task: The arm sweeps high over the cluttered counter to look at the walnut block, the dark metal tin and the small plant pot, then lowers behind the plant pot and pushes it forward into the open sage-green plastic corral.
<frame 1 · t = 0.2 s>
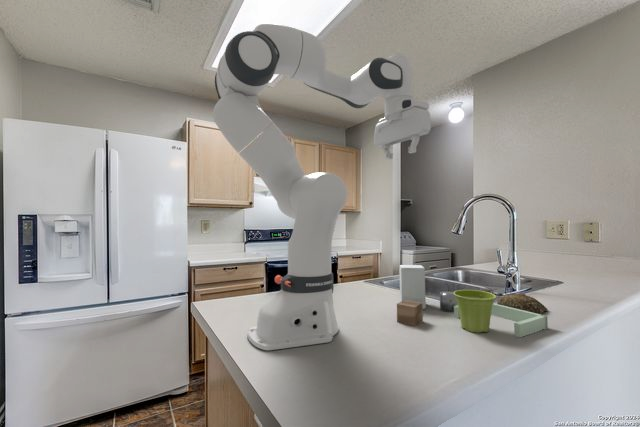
hand: (400, 156, 90), 47 cm above the counter, tool pointing down, fingers open, 8 cm apart
supplement box: (412, 306, 95), on the counter
bread roll: (521, 310, 91), on the counter
walnut block: (410, 322, 80), on the counter
corral: (496, 322, 78), on the counter
metal tin: (448, 309, 90), on the counter
plant pot: (475, 329, 74), on the counter
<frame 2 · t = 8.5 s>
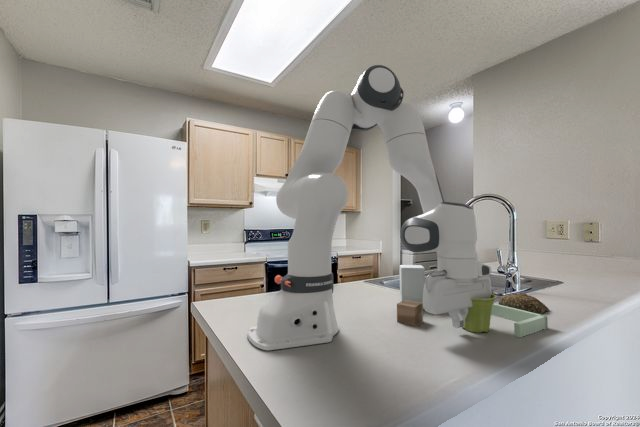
hand: (458, 326, 71), 2 cm above the counter, tool pointing down, fingers closed
plant pot: (475, 329, 74), on the counter, touching gripper
everything else where it was.
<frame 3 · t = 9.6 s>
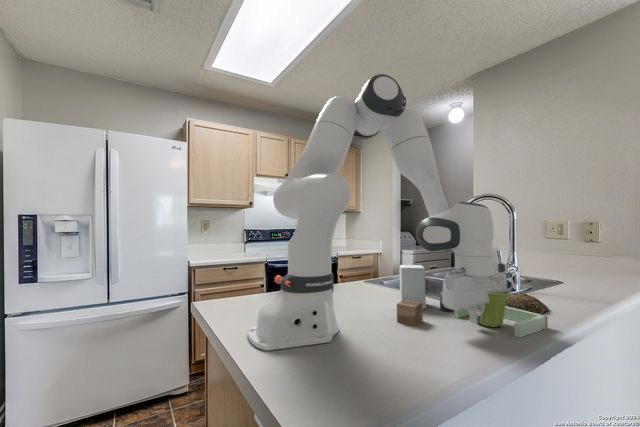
hand: (475, 322, 74), 2 cm above the counter, tool pointing down, fingers closed
plant pot: (488, 324, 77), on the counter, touching gripper
everything else where it was.
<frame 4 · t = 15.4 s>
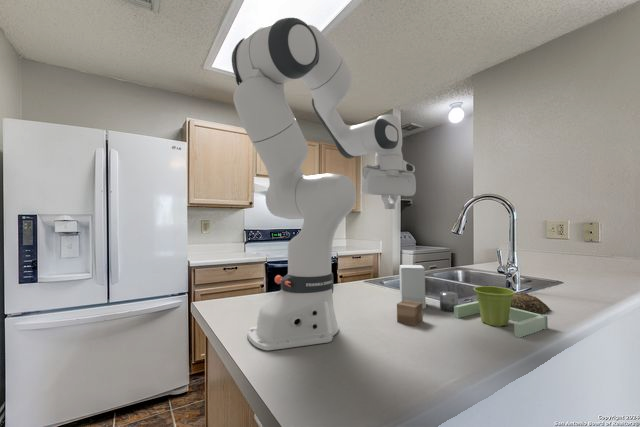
hand: (389, 209, 96), 31 cm above the counter, tool pointing down, fingers closed
plant pot: (494, 323, 78), on the counter
at the end: plant pot inside the target area on the corral (0.8 cm from its centre), point 0.0 cm above the corral's base; plant pot tilted 0°; metal tin moved 0.1 cm from its start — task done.
